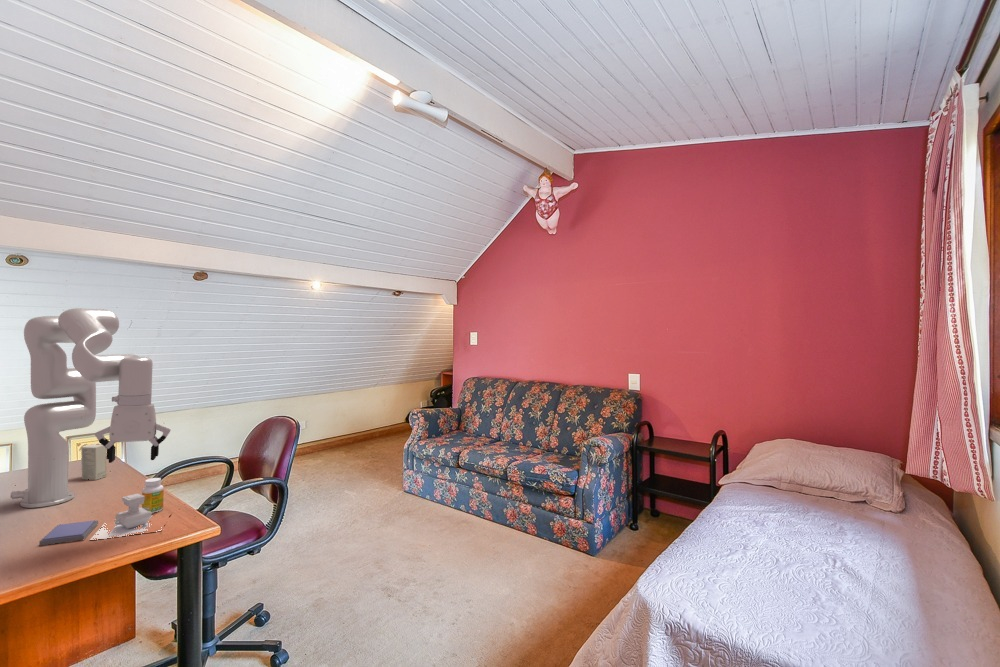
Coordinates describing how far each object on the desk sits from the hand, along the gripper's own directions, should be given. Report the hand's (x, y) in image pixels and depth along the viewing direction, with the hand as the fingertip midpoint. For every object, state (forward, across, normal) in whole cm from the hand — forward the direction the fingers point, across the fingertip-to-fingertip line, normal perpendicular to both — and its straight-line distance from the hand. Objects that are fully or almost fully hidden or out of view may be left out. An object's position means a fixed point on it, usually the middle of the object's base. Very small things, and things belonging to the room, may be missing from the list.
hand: (132, 460), depth 136 cm
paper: (+19, +1, -1) cm, 19 cm away
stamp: (+19, +1, -1) cm, 19 cm away
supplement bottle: (+19, +3, +11) cm, 23 cm away
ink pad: (+19, -13, -1) cm, 23 cm away
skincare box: (+21, -24, +57) cm, 65 cm away
